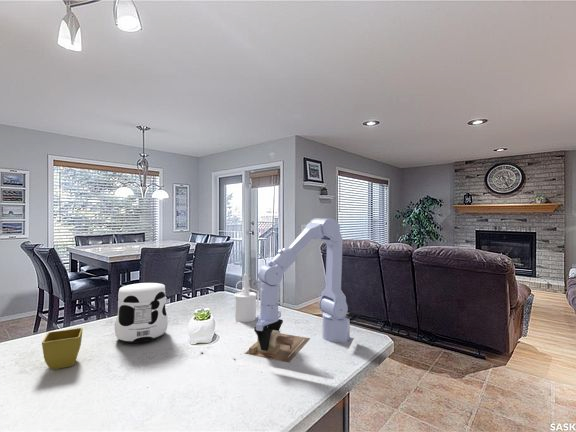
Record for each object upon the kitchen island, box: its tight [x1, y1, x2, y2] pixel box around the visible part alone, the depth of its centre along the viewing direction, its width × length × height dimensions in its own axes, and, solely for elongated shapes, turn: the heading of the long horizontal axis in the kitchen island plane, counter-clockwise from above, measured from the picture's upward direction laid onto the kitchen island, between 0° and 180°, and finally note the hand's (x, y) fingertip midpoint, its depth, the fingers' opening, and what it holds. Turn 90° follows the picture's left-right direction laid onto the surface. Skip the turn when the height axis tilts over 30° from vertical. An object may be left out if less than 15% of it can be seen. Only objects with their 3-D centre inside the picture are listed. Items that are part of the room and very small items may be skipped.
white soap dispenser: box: [233, 273, 260, 324], centre depth 132 cm, size 10×9×20 cm
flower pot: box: [41, 327, 84, 371], centre depth 93 cm, size 9×9×9 cm
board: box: [244, 332, 311, 363], centre depth 105 cm, size 15×20×3 cm
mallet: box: [257, 330, 293, 355], centre depth 100 cm, size 11×4×6 cm, turn 68°
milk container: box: [114, 282, 169, 344], centre depth 114 cm, size 17×17×18 cm
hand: (268, 346), depth 101 cm, fingers open, 6 cm apart
